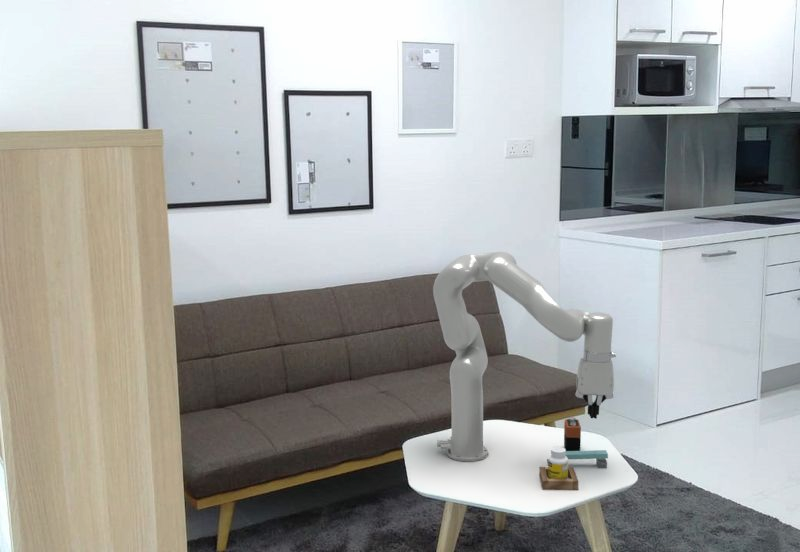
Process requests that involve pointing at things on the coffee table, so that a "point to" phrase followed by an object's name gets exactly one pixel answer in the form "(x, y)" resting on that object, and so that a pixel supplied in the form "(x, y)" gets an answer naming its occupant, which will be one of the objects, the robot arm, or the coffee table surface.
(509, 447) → the coffee table surface
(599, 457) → the latch bar
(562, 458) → the supplement bottle
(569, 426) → the battery
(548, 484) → the socket
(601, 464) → the latch bracket
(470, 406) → the robot arm
